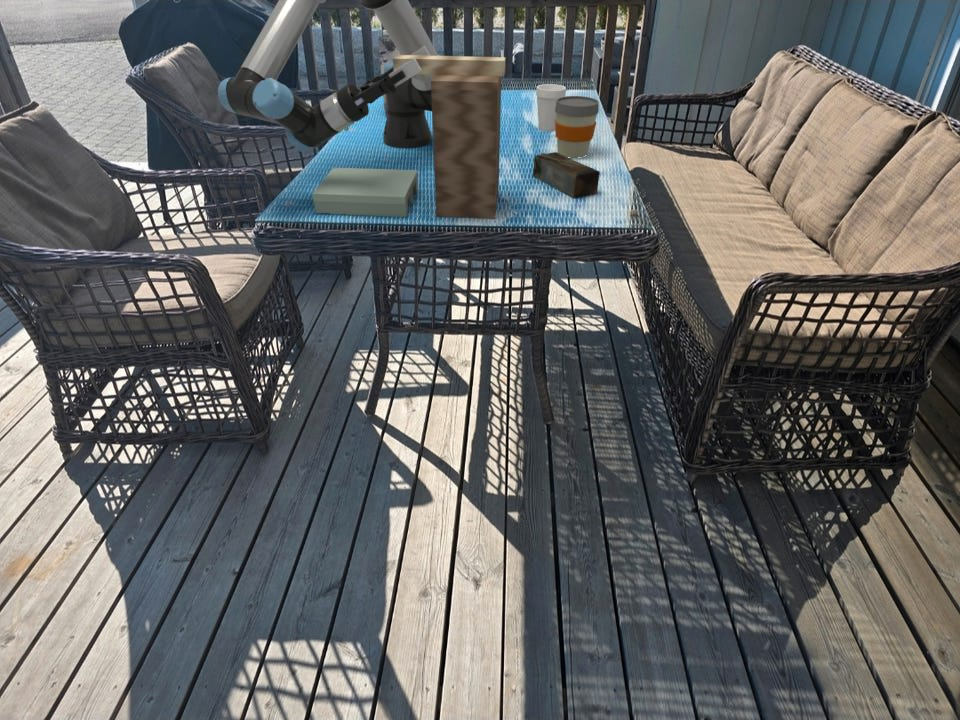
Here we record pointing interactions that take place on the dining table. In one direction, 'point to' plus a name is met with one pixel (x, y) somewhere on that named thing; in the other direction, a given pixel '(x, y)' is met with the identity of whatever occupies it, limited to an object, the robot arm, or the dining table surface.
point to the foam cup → (548, 104)
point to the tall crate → (466, 144)
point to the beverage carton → (566, 174)
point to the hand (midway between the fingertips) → (423, 57)
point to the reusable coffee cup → (575, 124)
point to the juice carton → (386, 55)
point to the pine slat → (454, 65)
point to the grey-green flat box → (366, 192)
